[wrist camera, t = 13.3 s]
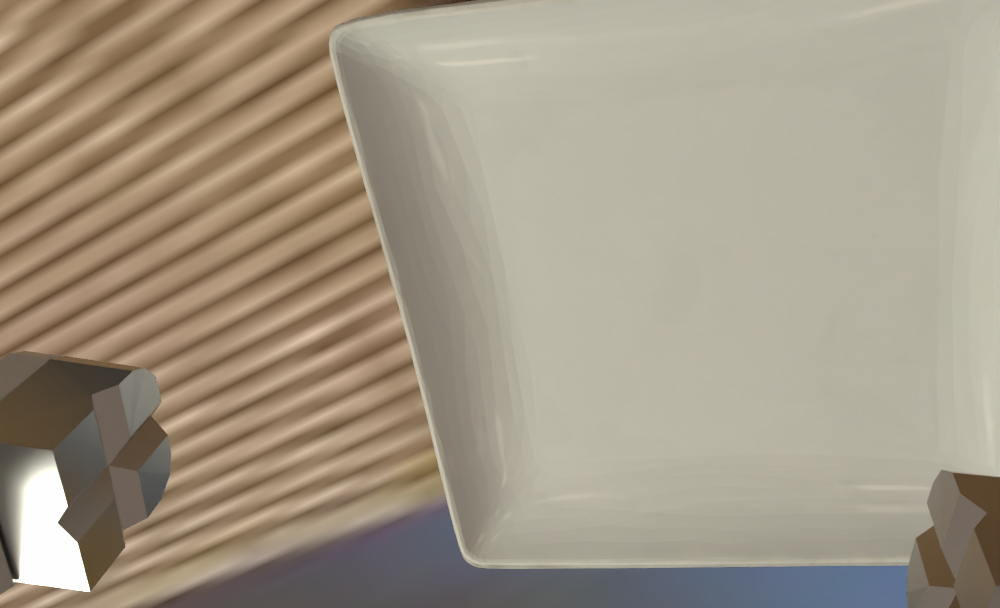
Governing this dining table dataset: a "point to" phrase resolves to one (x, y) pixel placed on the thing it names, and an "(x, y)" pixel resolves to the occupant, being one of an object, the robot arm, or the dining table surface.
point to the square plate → (690, 268)
